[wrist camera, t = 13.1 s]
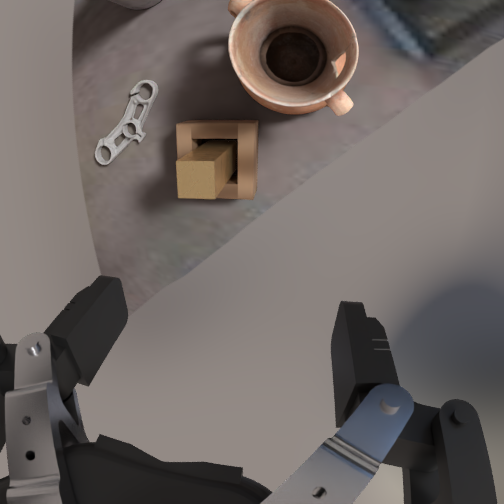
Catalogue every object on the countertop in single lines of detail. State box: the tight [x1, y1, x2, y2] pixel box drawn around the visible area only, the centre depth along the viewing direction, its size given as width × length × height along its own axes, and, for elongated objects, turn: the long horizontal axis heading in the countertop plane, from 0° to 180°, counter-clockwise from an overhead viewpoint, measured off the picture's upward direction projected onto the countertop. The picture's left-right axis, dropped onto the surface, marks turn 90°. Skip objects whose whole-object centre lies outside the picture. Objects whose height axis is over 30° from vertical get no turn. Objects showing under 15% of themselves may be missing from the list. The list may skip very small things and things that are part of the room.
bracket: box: [95, 80, 158, 165], centre depth 42 cm, size 8×2×15 cm
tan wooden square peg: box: [176, 140, 237, 199], centre depth 37 cm, size 4×4×14 cm
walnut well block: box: [176, 120, 258, 200], centre depth 41 cm, size 10×10×5 cm
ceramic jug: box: [228, 0, 358, 116], centre depth 30 cm, size 18×14×14 cm
